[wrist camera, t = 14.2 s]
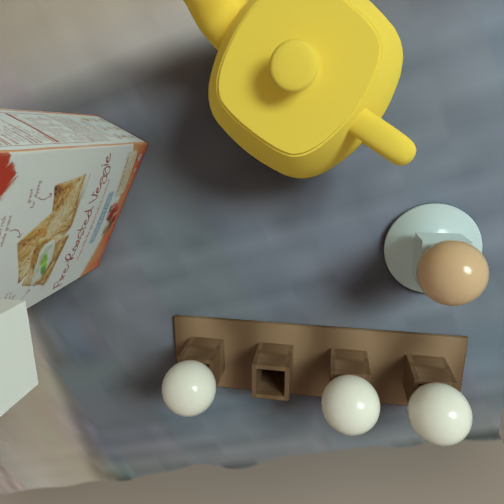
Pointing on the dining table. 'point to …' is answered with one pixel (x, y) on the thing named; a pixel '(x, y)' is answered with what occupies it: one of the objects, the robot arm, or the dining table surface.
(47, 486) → the dining table surface
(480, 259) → the brown egg
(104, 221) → the cracker box
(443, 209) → the egg cup
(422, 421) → the white egg
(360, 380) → the white egg
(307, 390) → the egg rack
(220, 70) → the teapot
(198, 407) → the white egg
